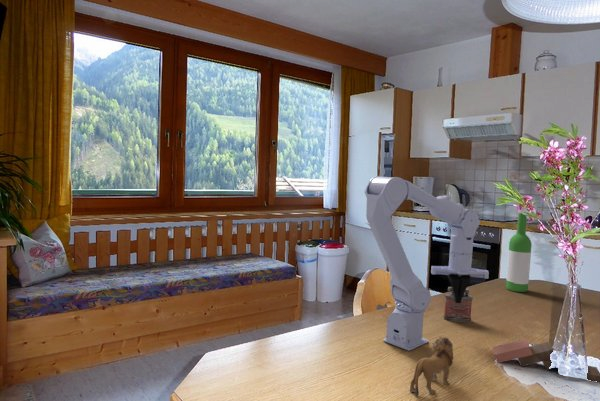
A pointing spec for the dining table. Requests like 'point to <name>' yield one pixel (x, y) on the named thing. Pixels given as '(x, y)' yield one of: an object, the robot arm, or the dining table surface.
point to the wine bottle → (519, 258)
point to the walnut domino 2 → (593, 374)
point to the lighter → (458, 307)
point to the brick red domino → (512, 350)
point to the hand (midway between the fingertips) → (457, 302)
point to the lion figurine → (434, 365)
